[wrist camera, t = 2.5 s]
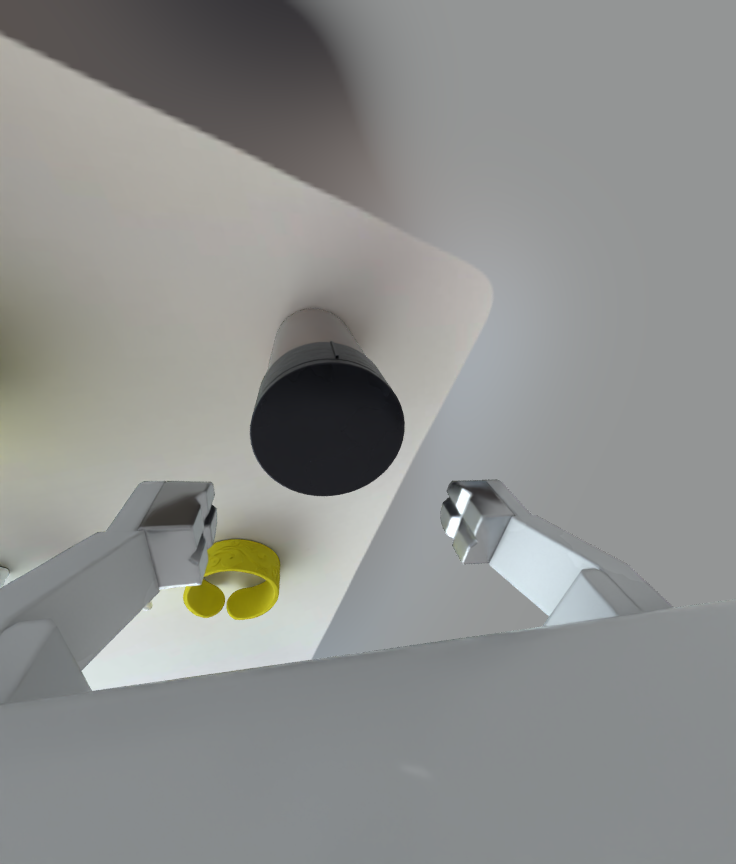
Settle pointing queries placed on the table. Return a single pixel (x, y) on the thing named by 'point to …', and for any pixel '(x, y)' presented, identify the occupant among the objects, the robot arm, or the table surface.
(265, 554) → the bracelet
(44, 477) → the table surface
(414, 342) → the table surface
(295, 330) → the jar
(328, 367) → the lid
